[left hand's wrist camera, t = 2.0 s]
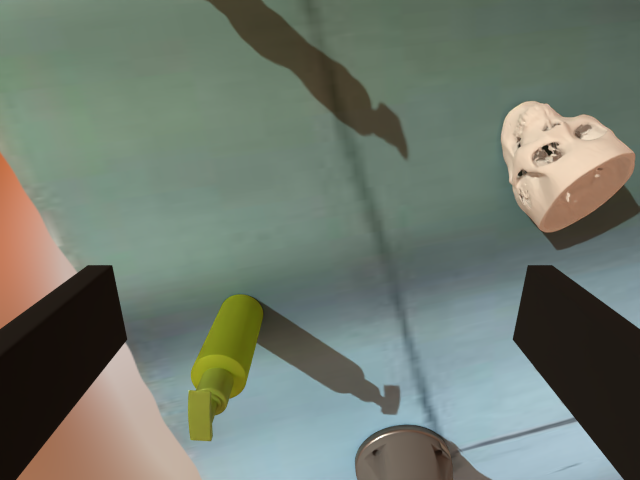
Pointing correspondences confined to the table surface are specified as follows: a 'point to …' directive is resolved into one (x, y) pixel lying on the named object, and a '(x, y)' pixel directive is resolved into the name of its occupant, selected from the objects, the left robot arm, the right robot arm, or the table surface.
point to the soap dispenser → (223, 362)
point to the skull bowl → (562, 164)
